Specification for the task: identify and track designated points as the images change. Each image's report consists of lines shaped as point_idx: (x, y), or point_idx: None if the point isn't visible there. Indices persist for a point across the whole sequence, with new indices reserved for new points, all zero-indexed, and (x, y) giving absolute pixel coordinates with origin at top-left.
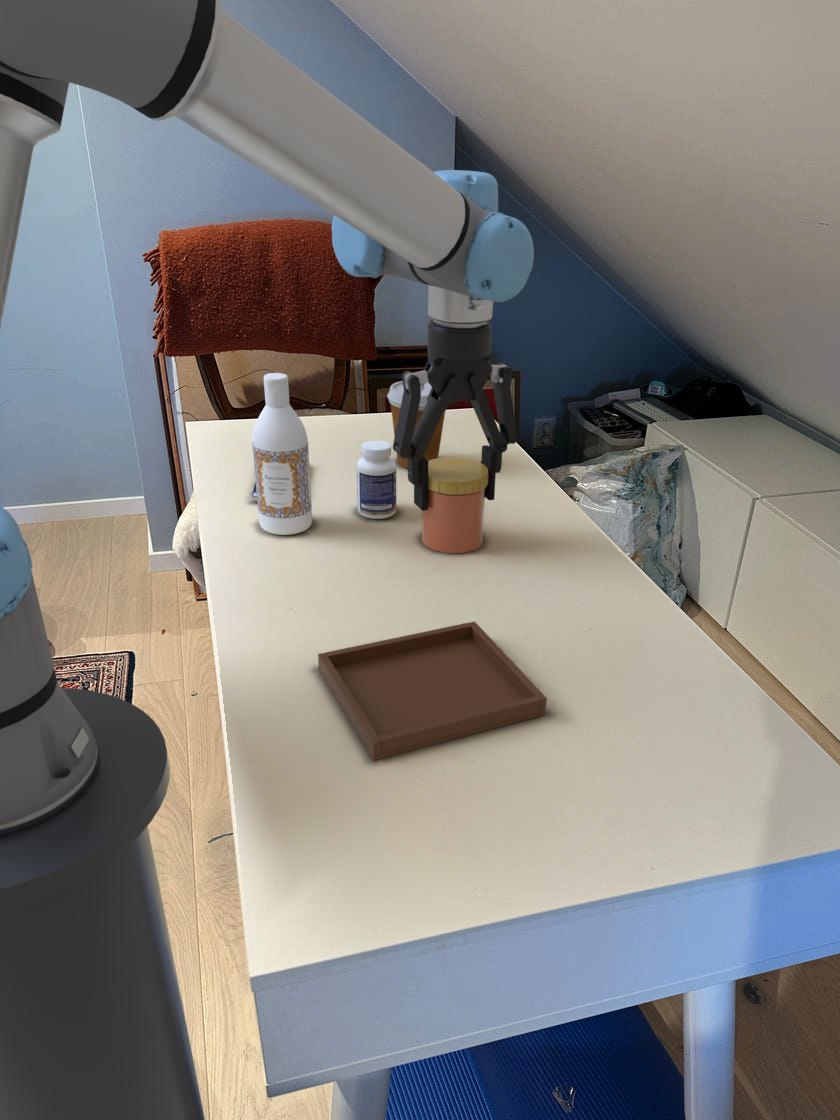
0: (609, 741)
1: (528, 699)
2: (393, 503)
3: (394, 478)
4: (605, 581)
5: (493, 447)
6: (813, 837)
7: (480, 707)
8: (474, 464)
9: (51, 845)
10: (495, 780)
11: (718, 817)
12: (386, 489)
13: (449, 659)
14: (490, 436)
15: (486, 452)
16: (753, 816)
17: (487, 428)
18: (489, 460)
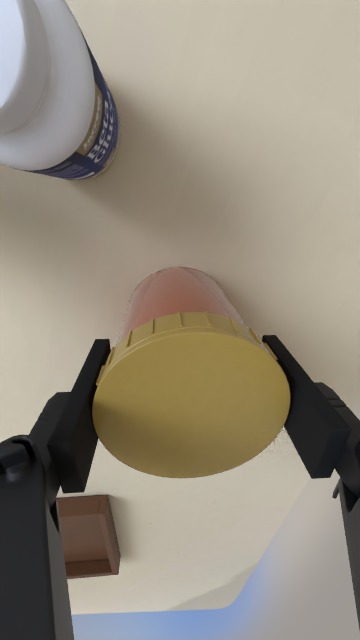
0: (146, 571)
1: (105, 574)
2: (99, 166)
3: (85, 151)
4: (290, 451)
5: (340, 470)
6: (195, 607)
7: (77, 554)
8: (265, 405)
9: None
10: (67, 580)
11: (165, 599)
12: (61, 174)
13: (71, 520)
14: (349, 530)
15: (314, 443)
16: (180, 600)
17: (357, 583)
18: (299, 442)
